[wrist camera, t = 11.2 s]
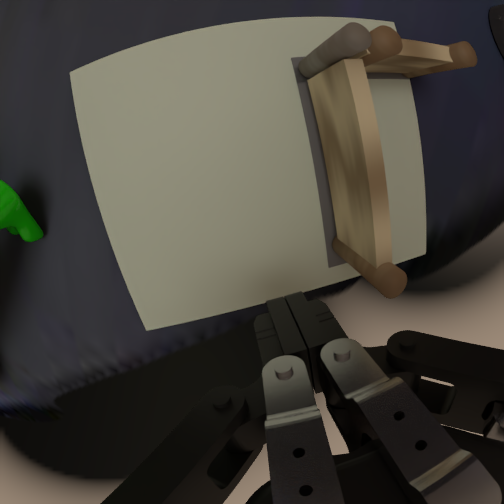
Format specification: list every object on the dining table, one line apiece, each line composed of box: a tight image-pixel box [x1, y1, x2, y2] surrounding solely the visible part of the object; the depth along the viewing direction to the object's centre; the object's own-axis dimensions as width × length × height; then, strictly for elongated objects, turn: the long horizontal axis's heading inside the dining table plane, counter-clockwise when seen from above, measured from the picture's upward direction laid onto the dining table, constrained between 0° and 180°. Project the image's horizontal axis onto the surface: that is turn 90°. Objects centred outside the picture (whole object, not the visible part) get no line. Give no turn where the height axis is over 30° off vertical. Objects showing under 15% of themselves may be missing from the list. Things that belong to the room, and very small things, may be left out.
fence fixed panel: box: [348, 25, 477, 78], centre depth 13 cm, size 8×2×7 cm, turn 102°
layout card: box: [70, 17, 426, 331], centre depth 18 cm, size 23×19×1 cm
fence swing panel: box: [298, 22, 407, 299], centre depth 15 cm, size 13×2×7 cm, turn 13°
